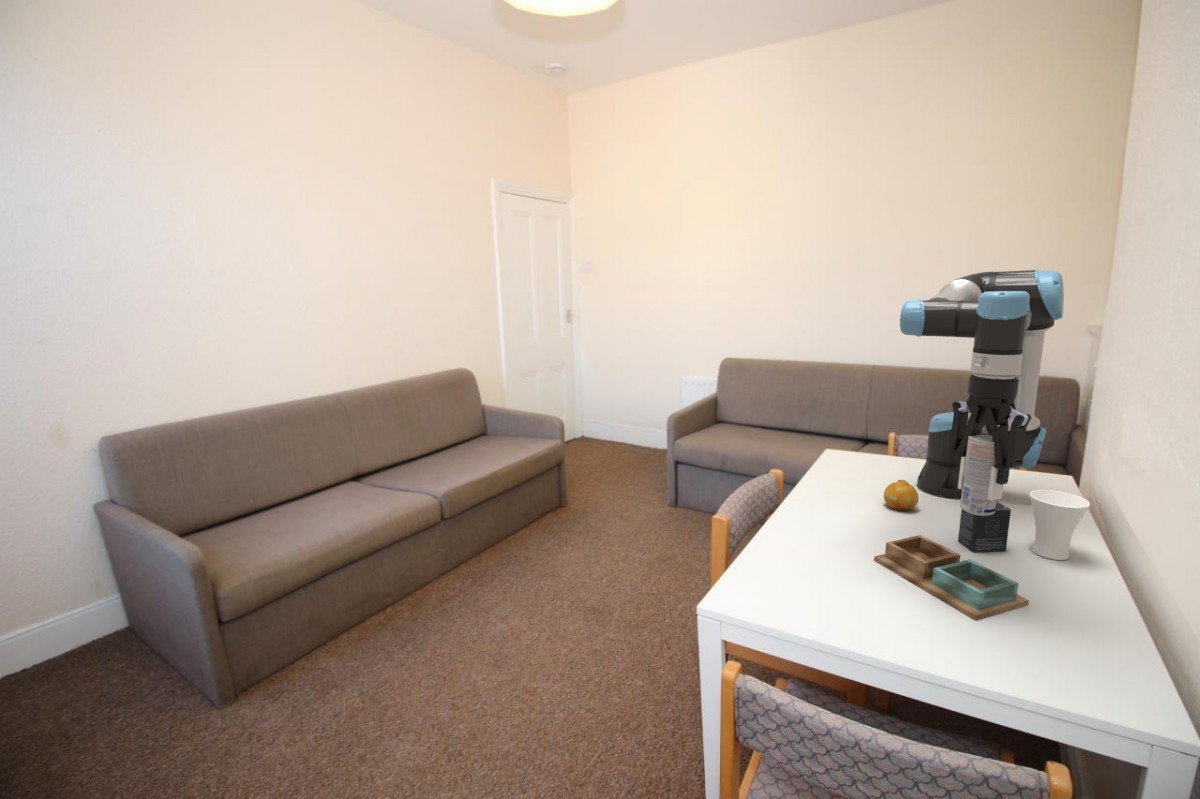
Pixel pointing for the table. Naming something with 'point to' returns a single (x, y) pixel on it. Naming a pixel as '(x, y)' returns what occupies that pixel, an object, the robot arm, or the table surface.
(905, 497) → the fruit
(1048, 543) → the cup
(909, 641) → the table surface
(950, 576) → the socket board
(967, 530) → the box
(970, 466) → the beverage can
